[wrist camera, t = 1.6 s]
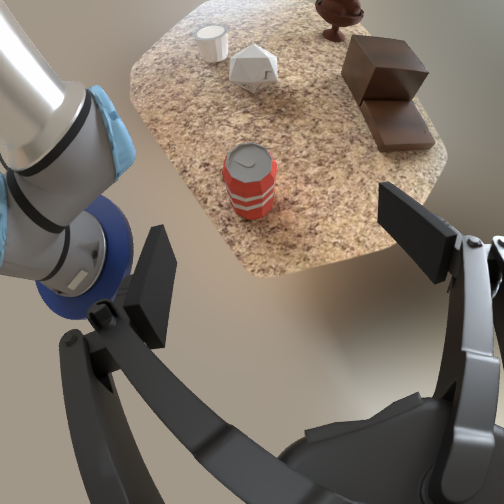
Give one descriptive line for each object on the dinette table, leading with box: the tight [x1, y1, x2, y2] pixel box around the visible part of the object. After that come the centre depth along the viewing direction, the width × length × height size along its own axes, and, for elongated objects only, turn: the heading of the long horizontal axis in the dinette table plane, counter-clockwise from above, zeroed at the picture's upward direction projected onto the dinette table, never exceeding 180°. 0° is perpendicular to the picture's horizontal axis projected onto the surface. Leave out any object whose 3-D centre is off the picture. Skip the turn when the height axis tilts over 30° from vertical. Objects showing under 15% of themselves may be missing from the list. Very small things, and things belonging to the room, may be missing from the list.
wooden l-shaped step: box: [341, 35, 435, 152], centre depth 39 cm, size 20×12×11 cm, turn 11°
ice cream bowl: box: [315, 0, 364, 42], centre depth 42 cm, size 11×11×15 cm
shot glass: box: [194, 24, 228, 63], centre depth 45 cm, size 7×7×7 cm
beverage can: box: [222, 142, 277, 220], centre depth 36 cm, size 6×6×12 cm
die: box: [229, 44, 278, 93], centre depth 42 cm, size 8×9×10 cm
